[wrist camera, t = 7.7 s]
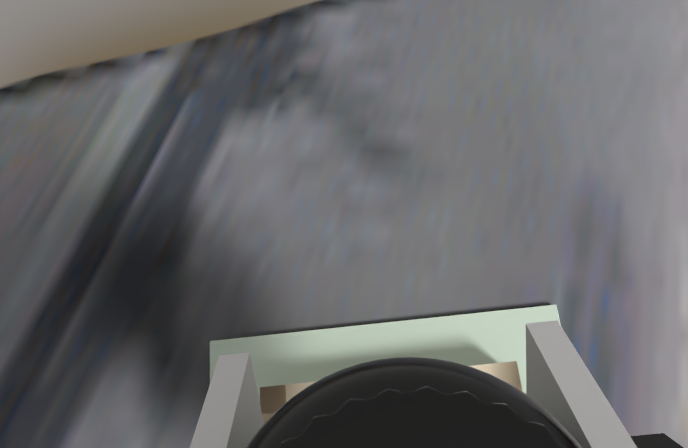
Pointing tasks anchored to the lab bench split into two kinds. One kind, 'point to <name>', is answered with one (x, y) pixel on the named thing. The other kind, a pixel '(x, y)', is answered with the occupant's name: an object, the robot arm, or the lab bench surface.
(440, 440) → the supplement bottle
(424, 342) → the mat
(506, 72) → the lab bench surface
